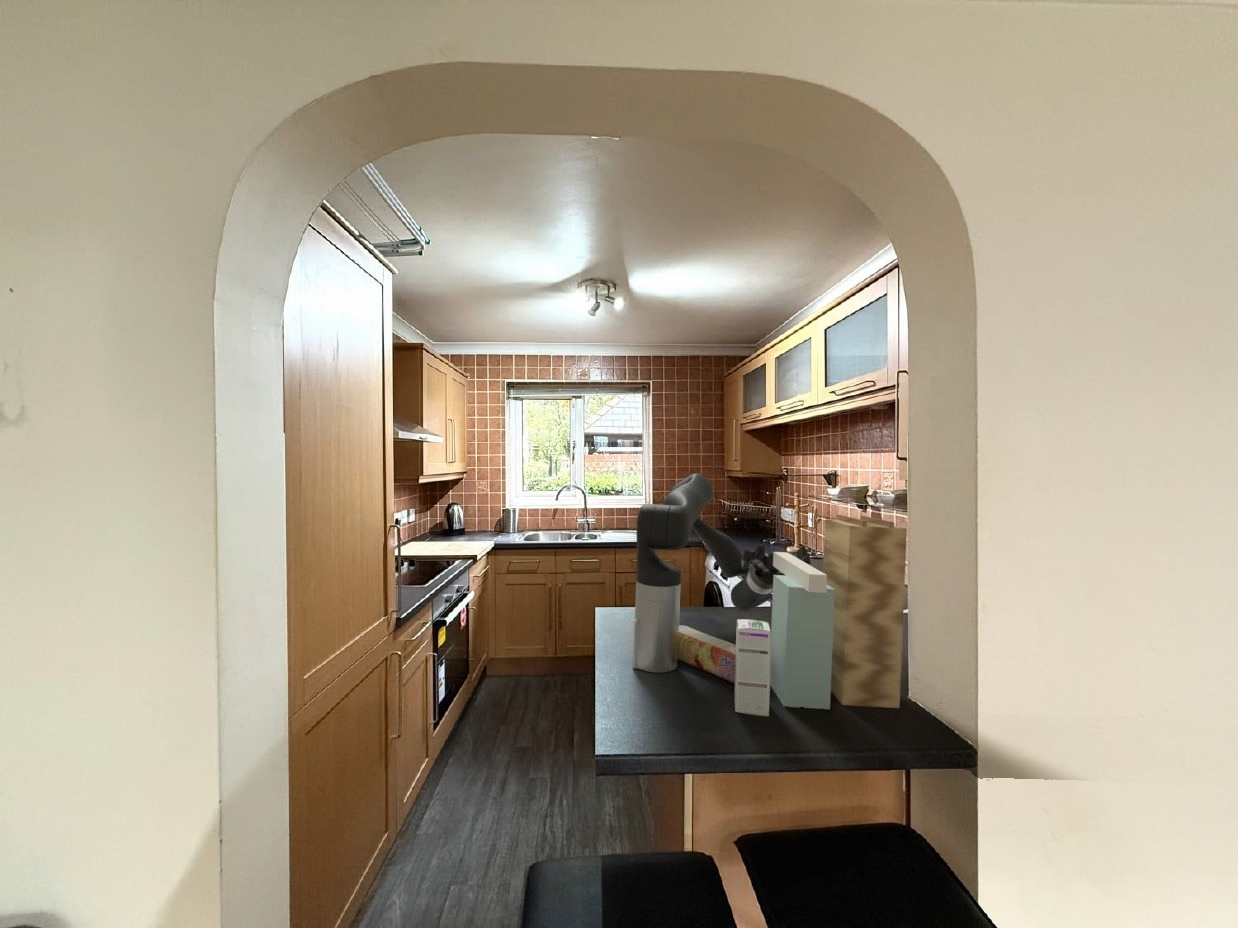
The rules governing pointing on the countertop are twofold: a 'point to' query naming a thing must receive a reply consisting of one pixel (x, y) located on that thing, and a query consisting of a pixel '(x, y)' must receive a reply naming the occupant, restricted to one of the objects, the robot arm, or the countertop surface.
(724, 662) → the snack package
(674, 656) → the robot arm
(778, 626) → the post
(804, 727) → the countertop surface
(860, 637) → the tall wood-grain block
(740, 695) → the syrup box
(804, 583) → the bar
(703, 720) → the countertop surface
